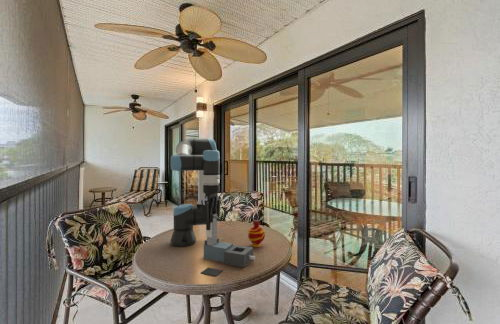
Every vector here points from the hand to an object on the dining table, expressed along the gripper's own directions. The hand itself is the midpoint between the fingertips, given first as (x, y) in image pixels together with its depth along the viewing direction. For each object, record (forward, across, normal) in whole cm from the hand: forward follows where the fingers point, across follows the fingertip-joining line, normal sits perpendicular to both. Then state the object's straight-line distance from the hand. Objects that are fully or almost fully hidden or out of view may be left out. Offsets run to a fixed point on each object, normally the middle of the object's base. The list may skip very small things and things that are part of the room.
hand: (211, 235), depth 116 cm
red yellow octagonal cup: (+17, +41, -5) cm, 45 cm away
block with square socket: (+17, +16, 0) cm, 23 cm away
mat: (+17, 0, 0) cm, 17 cm away
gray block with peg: (+4, 0, 0) cm, 4 cm away
